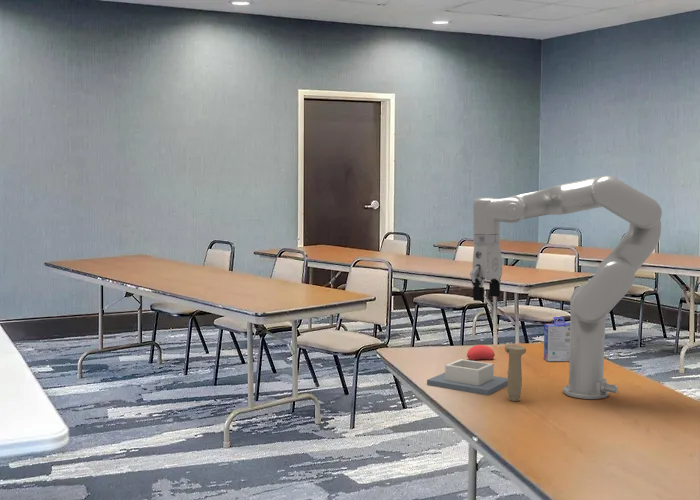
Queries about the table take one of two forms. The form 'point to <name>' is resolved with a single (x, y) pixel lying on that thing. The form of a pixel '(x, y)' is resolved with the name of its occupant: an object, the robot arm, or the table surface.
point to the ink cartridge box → (557, 341)
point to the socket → (469, 377)
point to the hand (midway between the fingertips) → (486, 298)
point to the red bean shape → (480, 353)
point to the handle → (514, 371)
